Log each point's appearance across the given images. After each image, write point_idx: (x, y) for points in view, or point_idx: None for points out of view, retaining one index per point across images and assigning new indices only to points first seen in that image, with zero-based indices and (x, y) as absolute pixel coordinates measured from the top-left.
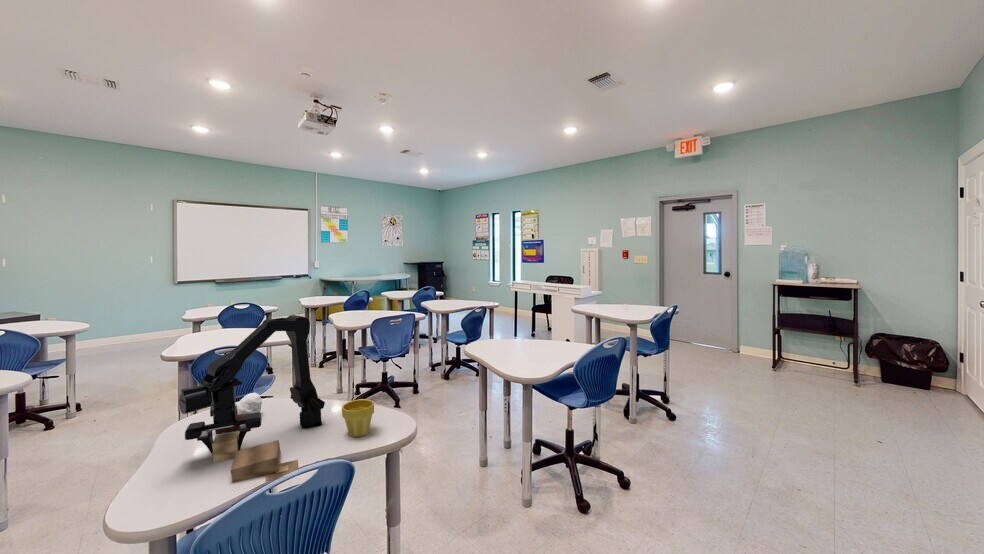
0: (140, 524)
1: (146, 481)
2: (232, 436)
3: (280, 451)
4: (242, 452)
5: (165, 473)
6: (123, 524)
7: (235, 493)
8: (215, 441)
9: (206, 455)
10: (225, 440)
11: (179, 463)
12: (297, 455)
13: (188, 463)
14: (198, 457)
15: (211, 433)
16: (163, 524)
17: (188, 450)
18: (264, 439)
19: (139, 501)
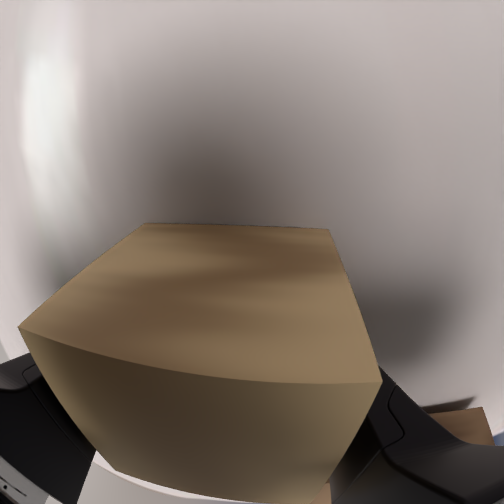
0: (124, 474)
1: (3, 330)
2: (268, 471)
3: (482, 412)
4: (329, 496)
5: (14, 310)
6: (93, 458)
7: None
8: (113, 456)
9: (84, 202)
10: (205, 488)
11: (9, 242)
12: (501, 404)
13: (40, 267)
14: (53, 211)
15: (5, 435)
16: (166, 492)
17: (3, 86)
18: (501, 132)
19: None
